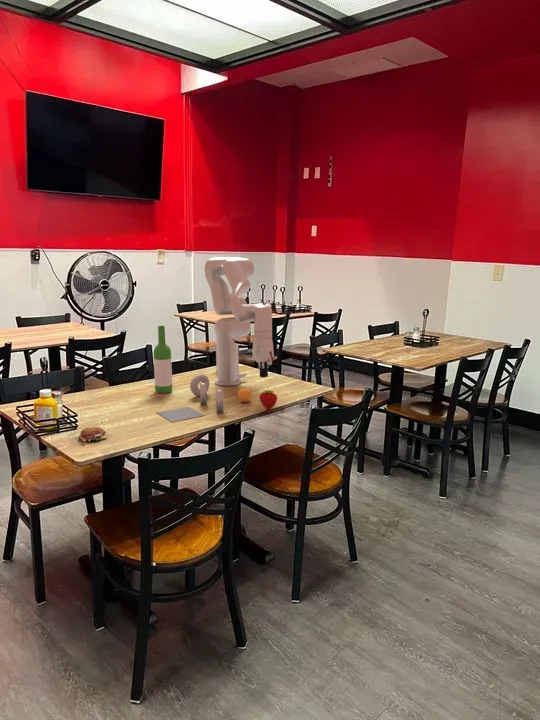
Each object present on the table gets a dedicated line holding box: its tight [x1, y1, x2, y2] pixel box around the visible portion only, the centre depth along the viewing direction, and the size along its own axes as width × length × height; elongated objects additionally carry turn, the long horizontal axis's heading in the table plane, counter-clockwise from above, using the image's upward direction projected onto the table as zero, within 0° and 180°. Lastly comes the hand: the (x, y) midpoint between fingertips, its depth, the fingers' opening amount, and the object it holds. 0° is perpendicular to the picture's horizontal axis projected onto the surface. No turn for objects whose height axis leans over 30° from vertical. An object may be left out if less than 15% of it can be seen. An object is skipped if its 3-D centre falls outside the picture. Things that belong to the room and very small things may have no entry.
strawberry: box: [259, 389, 278, 412], centre depth 214 cm, size 6×8×10 cm
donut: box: [189, 373, 210, 397], centre depth 235 cm, size 10×4×10 cm, turn 138°
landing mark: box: [156, 406, 206, 423], centre depth 210 cm, size 14×14×1 cm
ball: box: [237, 387, 253, 403], centre depth 226 cm, size 6×6×6 cm
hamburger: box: [78, 426, 108, 442], centre depth 181 cm, size 14×14×6 cm
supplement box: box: [215, 343, 240, 373], centre depth 280 cm, size 9×9×15 cm
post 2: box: [215, 389, 224, 414], centre depth 211 cm, size 3×3×9 cm
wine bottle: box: [153, 325, 173, 394], centre depth 240 cm, size 8×8×30 cm
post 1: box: [199, 382, 208, 406], centre depth 222 cm, size 3×3×9 cm
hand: (263, 376), depth 230 cm, fingers closed
